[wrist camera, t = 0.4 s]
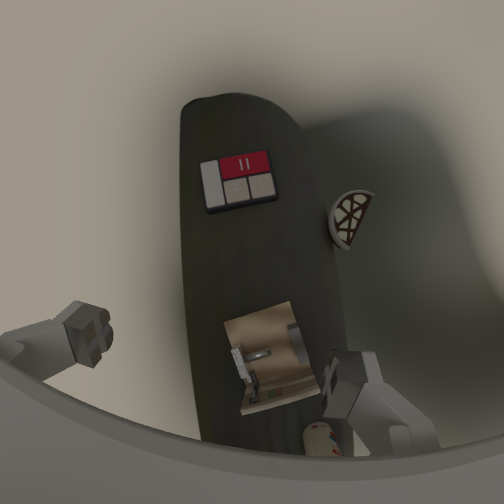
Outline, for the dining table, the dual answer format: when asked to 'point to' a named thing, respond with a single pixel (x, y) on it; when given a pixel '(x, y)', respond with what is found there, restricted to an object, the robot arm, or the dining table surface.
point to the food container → (347, 217)
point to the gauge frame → (273, 357)
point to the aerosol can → (320, 440)
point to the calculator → (237, 181)
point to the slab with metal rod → (247, 359)
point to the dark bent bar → (255, 389)
